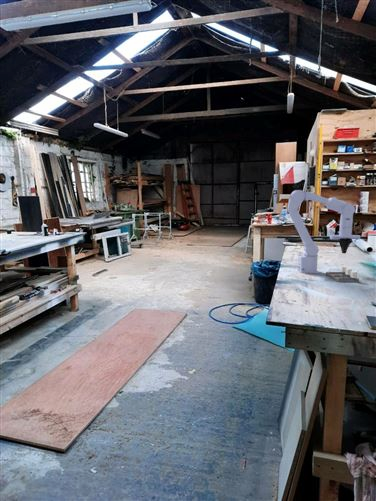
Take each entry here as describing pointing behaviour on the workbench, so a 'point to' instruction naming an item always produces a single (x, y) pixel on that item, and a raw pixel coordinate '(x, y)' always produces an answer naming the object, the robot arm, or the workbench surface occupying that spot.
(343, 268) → the breaker far
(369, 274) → the workbench surface
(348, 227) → the robot arm
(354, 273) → the breaker near
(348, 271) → the breaker mid
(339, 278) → the panel
